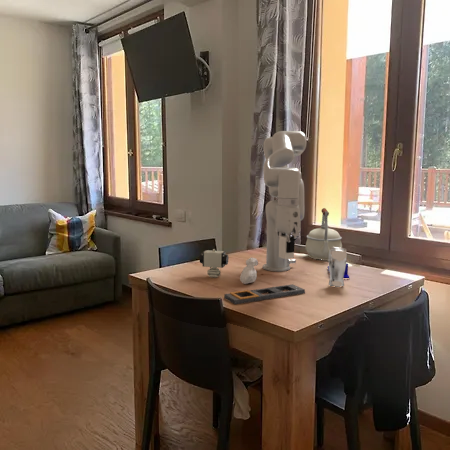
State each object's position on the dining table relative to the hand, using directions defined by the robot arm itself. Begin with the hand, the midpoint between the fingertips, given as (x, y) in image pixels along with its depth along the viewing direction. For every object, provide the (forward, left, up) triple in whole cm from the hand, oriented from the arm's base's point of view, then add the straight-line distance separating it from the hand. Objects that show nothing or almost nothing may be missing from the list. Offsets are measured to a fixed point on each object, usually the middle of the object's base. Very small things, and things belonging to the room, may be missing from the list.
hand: (286, 250), depth 169 cm
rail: (+9, 0, -16) cm, 19 cm away
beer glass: (-24, +1, -16) cm, 29 cm away
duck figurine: (+5, -19, -16) cm, 26 cm away
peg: (0, 0, -3) cm, 3 cm away
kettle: (-52, -41, -16) cm, 68 cm away
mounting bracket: (-37, -13, -17) cm, 42 cm away
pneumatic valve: (+14, -33, -16) cm, 39 cm away
